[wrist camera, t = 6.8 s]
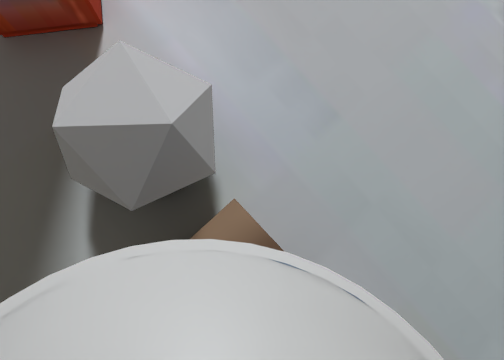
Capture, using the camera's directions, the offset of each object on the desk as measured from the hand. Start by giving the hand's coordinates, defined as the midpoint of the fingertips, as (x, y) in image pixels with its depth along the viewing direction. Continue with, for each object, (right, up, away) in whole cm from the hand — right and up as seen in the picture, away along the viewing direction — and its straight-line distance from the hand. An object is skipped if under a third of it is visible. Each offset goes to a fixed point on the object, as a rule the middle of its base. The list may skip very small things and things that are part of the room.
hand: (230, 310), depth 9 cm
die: (-6, +6, +13) cm, 16 cm away
